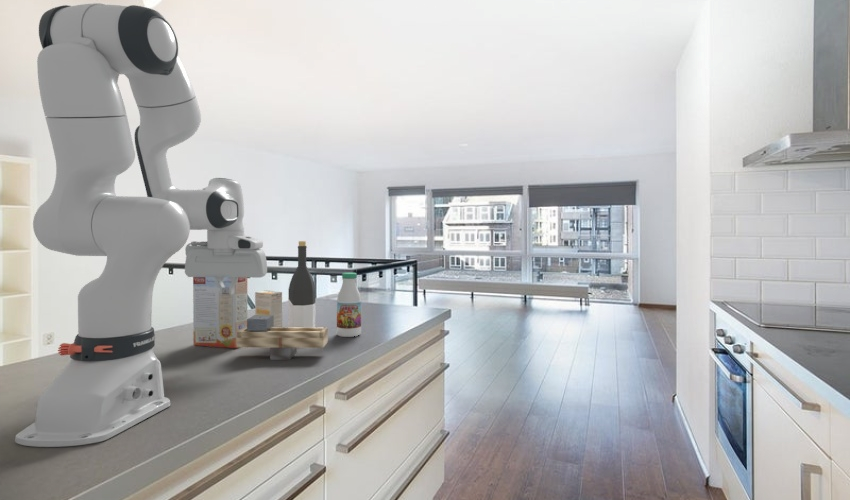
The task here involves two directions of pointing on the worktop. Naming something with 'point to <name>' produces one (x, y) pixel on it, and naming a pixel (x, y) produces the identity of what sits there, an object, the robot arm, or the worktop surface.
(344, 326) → the milk bottle
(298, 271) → the wine bottle
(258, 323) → the block
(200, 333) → the cracker box
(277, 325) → the supplement box
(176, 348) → the worktop surface
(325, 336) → the beam
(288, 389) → the worktop surface
